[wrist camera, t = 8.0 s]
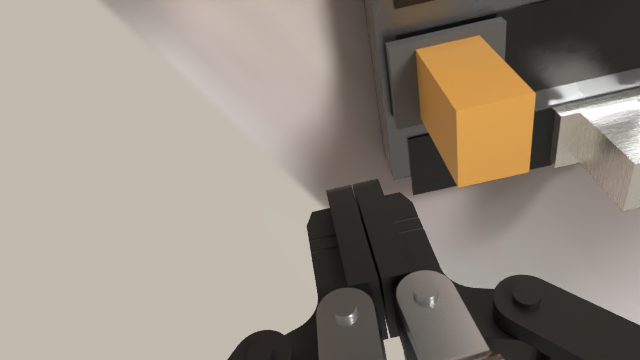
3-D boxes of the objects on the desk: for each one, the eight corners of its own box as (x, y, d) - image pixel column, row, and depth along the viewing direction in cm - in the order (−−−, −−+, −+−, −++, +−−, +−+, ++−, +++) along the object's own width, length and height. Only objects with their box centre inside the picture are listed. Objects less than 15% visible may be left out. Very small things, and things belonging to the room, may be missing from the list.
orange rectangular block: (501, 16, 19) (570, 76, 15) (498, 100, 21) (557, 172, 17) (385, 42, 19) (422, 110, 15) (394, 123, 21) (429, 201, 17)
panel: (683, -171, 18) (849, -158, 13) (622, 120, 25) (712, 198, 20) (351, -93, 18) (389, -51, 13) (387, 172, 26) (420, 261, 21)
